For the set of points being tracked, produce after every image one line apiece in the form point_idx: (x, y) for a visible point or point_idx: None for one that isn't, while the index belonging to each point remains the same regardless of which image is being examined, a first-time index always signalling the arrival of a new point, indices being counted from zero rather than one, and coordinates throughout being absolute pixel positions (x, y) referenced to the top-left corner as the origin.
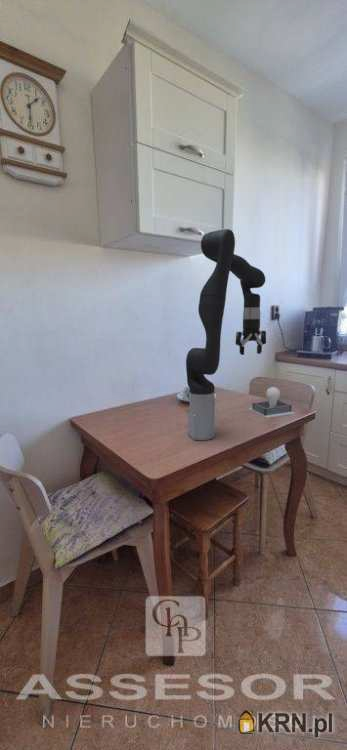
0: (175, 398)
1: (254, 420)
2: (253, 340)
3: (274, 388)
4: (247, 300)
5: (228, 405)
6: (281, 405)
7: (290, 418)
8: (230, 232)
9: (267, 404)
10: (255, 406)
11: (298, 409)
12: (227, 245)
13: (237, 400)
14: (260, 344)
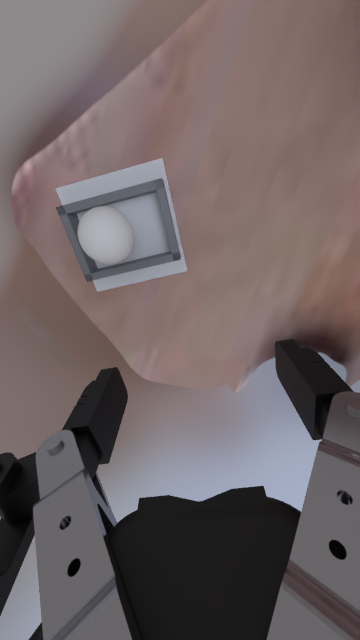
0: None
1: (210, 144)
2: (172, 502)
3: (96, 225)
4: None
5: (232, 311)
6: None
7: (86, 142)
8: None
9: (129, 263)
10: (176, 240)
11: (38, 234)
12: None
13: (191, 349)
14: (70, 441)
